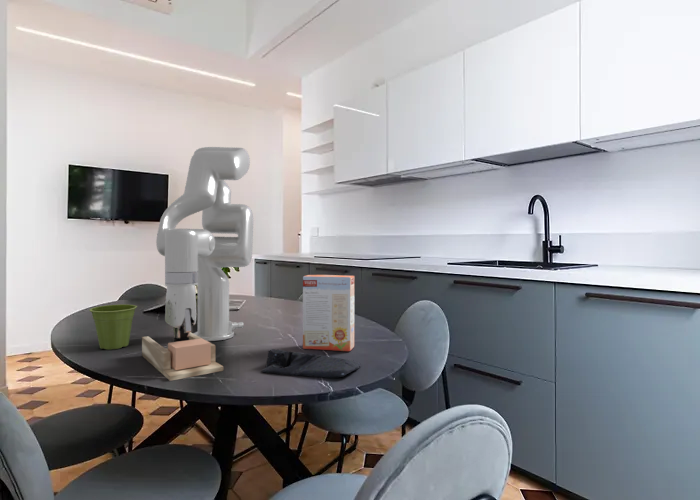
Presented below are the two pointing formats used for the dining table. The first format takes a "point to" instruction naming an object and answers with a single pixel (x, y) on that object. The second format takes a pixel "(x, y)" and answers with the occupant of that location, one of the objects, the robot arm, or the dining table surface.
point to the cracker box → (328, 312)
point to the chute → (162, 360)
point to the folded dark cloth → (308, 364)
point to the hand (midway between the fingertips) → (181, 353)
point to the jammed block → (189, 353)
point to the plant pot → (113, 325)
